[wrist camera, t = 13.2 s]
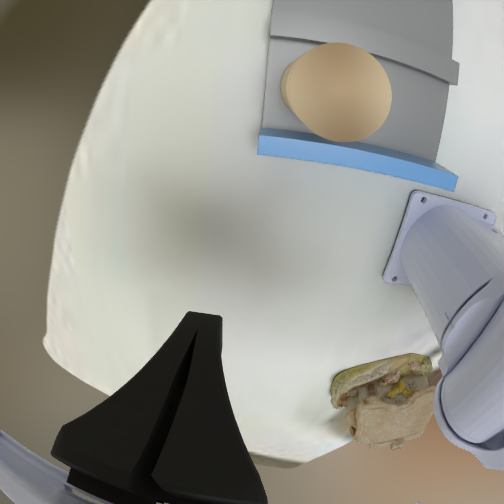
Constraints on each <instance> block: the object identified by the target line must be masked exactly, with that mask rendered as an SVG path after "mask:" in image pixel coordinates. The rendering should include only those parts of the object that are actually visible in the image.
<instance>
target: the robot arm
mask: <svg viewBox="0 0 504 504" xmlns="http://www.w3.org/2000/svg"><path fill="white" fill-rule="evenodd" d="M422 197H424V200H423V201H421V198H422ZM484 215H485V216H484ZM495 219H496V215H495V213H493V212H492V211H489V210H486V209H483V208H480V207H476V206H473V205H470V204H466V203H463V202H460V201H456V200H452V199H449V198H445V197H441V196H438V195H434V194H430V193H426V192H422V191H414V192H413V193H412V194H411V196H410V200H409V203H408V206H407V210H406V213H405V216H404V219H403V222H402V225H401V228H400V231H399V234H398V237H397V240H396V243H395V246H394V248H393V251H392V254H391V257H390V259H389V262H388V264H387V267H386V270H385V272H384V275H383V279H384V281H385V282H386V283H393V284H405V285H412V287H413V289H414V291H415V293H416V295H417V297H418V299H419V301H420V303H421V305H422V307H423V309H424V312H425V314H426V316H427V318H428V320H429V322H430V324H431V327H432V329H433V331H434V333H435V336H436V338H437V340H438V343H439V345H440V347H441V350H442V357H441V359H440V360H439V362H438V364H439V366H440V369H441V372H442V375H443V377H442V378H441V379H440V381H439V383H438V384H437V387H436V389H435V393H434V400H433V406H434V413H435V417H436V420H437V423H438V426H439V427H440V429H441V431H442V433H443V434H444V435H445V437H446V438H447V439H448V440H449V441H450V442H452V443H453V444H455V445H456V446H458V447H460V448H462V449H465V450H467V451H469V452H471V453H473V454H474V455H475V456H476V457H477V458H478V459H479V461H480V462H481V463H482V465H483V466H484V467H485V468H489V469H497V470H504V236H503V235H502V234H501V233H500V232H499V231H498V230H497V229H496V228H495V227H494V226H493V224H494V222H495ZM395 276H396V277H395ZM393 277H395V278H393ZM392 278H393V279H392ZM221 352H222V317H221V316H220V315H212V314H205V313H198V312H191V311H189V312H187V313H186V315H185V316H184V318H183V319H182V321H181V322H180V323H179V325H178V326H177V328H176V329H175V330H174V332H173V333H172V334H171V336H170V337H169V338H168V339H167V341H166V342H165V343H164V344H163V345H162V347H161V348H160V349H159V350H158V352H157V353H156V354H155V355H154V356H153V357H152V358H151V359H150V360H149V361H148V363H147V364H146V365H145V366H144V367H143V368H142V369H141V370H140V371H139V372H138V373H137V374H136V375H135V376H134V377H133V378H132V379H130V380H129V381H128V382H127V383H126V384H125V385H124V386H122V387H121V388H120V389H119V390H118V391H116V392H115V393H114V394H113V395H111V396H110V397H109V398H107V399H106V400H105V401H103V402H102V403H100V404H99V405H97V406H96V407H94V408H93V409H91V410H90V411H88V412H87V413H85V414H84V415H82V416H80V417H78V418H77V419H75V420H73V421H71V422H69V423H67V424H65V425H63V426H62V428H61V430H60V431H59V433H58V435H57V437H56V440H55V442H54V445H53V448H52V450H51V455H52V456H53V457H54V458H56V459H57V460H59V461H61V462H63V463H64V464H66V465H67V466H69V467H71V469H70V472H69V473H68V472H66V471H64V470H62V469H60V468H59V467H57V466H55V465H53V464H51V463H50V462H48V461H46V460H45V459H43V458H41V457H40V456H38V455H36V454H35V453H33V452H32V451H30V450H28V449H27V448H25V447H24V446H22V445H21V444H19V443H18V442H17V441H16V440H14V439H13V438H11V437H10V436H9V435H7V434H6V433H5V432H3V431H2V430H1V429H0V489H1V490H2V491H3V492H4V493H5V494H6V495H7V496H8V497H9V498H10V499H11V500H12V501H13V502H14V503H15V504H97V503H95V502H93V501H90V500H88V499H86V498H83V497H81V496H79V495H76V494H74V493H73V492H72V489H74V490H76V491H78V492H80V493H82V494H84V495H87V496H89V497H91V498H93V499H95V500H98V501H100V502H102V503H105V504H156V502H158V503H162V504H164V502H165V503H169V504H268V501H267V496H266V493H265V490H264V487H263V484H262V481H261V479H260V476H259V473H258V471H257V470H256V467H255V466H254V463H253V461H252V459H251V457H250V455H249V453H248V451H247V448H246V446H245V444H244V441H243V439H242V436H241V433H240V431H239V428H238V425H237V423H236V420H235V417H234V414H233V410H232V407H231V404H230V400H229V396H228V392H227V388H226V383H225V378H224V373H223V367H222V359H221ZM71 488H72V489H71ZM415 504H421V503H420V502H419V503H415Z"/></svg>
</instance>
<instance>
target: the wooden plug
mask: <svg viewBox="0 0 504 504" xmlns="http://www.w3.org/2000/svg"><path fill="white" fill-rule="evenodd" d="M280 91H281V95H282V98H283V100H284V102H285V104H286V105H287V107H288V108H289V109H290V110H291V111H292V112H293V113H294V114H295V115H296V116H297V117H298V118H299V119H300V120H301V121H302V122H303V123H304V124H305V125H306V126H307V127H308V128H309V129H310V130H311V131H312V132H314V133H315V134H317V135H319V136H321V137H323V138H325V139H328V140H331V141H336V142H353V141H358V140H361V139H364V138H366V137H368V136H370V135H371V134H373V133H374V132H376V131H377V130H378V129H379V128H380V127H381V126H382V124H383V123H384V121H385V120H386V118H387V116H388V114H389V111H390V107H391V102H392V92H391V85H390V82H389V79H388V76H387V74H386V72H385V70H384V69H383V67H382V66H381V64H380V63H379V62H378V61H377V60H376V59H375V58H374V57H373V56H372V55H371V54H369V53H368V52H367V51H365V50H363V49H361V48H359V47H357V46H354V45H351V44H347V43H340V42H333V43H326V44H322V45H319V46H317V47H314V48H313V49H311V50H309V51H308V52H306V53H305V54H303V55H302V56H300V57H299V58H298V59H296V60H295V61H293V62H292V63H291V64H290V65H288V67H287V68H286V69H285V71H284V72H283V75H282V77H281V81H280Z"/></svg>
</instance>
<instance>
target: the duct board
mask: <svg viewBox="0 0 504 504" xmlns="http://www.w3.org/2000/svg"><path fill="white" fill-rule="evenodd" d="M333 42H340V43H347V44H351V45H354V46H357V47H359V48H361V49H363V50H365V51H367V52H368V53H369V54H371V55H372V56H373V57H374V58H375V59H376V60H377V61H378V62H379V63H380V64H381V66H382V67H383V69H384V70H385V72H386V74H387V76H388V79H389V82H390V85H391V92H392V102H391V107H390V111H389V114H388V116H387V118H386V120H385V121H384V123H383V124H382V126H381V127H380V128H379V129H378V130H377V131H376V132H374V133H373V134H371V135H370V136H368V137H366V138H364V139H361V140H358V141H353V142H336V141H331V140H328V139H325V138H323V137H321V136H319V135H317V134H315V133H314V132H312V131H311V130H310V129H309V128H308V127H307V126H306V125H305V124H304V123H303V122H302V121H301V120H300V119H299V118H298V117H297V116H296V115H295V114H294V113H293V112H292V111H291V110H290V109H289V108H288V107H287V105H286V104H285V102H284V100H283V98H282V95H281V91H280V81H281V77H282V75H283V72H284V71H285V69H286V68H287V67H288V65H290V64H291V63H292V62H293V61H295V60H296V59H298V58H299V57H300V56H302V55H303V54H305V53H306V52H308V51H309V50H311V49H313V48H314V47H317V46H319V45H322V44H326V43H333ZM452 44H453V4H452V0H274V1H273V10H272V15H271V26H270V44H269V55H268V66H267V77H266V88H265V99H264V110H263V121H262V129H261V131H260V134H259V140H258V151H257V155H265V156H274V157H283V158H291V159H299V160H306V161H313V162H320V163H326V164H333V165H339V166H344V167H350V168H355V169H361V170H366V171H371V172H376V173H381V174H385V175H390V176H394V177H399V178H403V179H407V180H411V181H415V182H419V183H423V184H427V185H431V186H434V187H438V188H442V189H445V190H449V191H452V192H454V189H455V186H456V182H457V179H458V176H457V175H455V174H454V173H452V172H451V171H449V170H447V169H446V168H444V167H443V166H441V165H440V164H438V163H436V162H435V160H436V156H437V152H438V147H439V143H440V138H441V133H442V128H443V123H444V117H445V111H446V105H447V98H448V91H449V85H457V84H458V75H459V63H458V62H456V61H454V60H452Z"/></svg>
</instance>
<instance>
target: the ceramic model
mask: <svg viewBox="0 0 504 504" xmlns="http://www.w3.org/2000/svg"><path fill="white" fill-rule="evenodd" d="M432 369H433V368H432V363H431V360H430V359H428V358H427V357H426V356H424V355H420V354H414V353H411V354H405V355H401V356H397V357H392V358H388V359H383V360H379V361H375V362H371V363H367V364H364V365H360V366H356V367H353V368H350V369H348V370H345V371H343V372H341V373H340V374H338V375H337V376H336V377H335V379H334V381H333V384H332V387H331V397H332V399H331V403H332V405H333V408H336V409H338V408H339V409H340V408H342V407H343V406H344V407H347V409H348V413H347V414H346V416H345V418H346V420H347V421H348V422H349V424H350V425H352V426H351V428H350V433H351V435H352V437H353V438H354V439H355V440H356V442H360V443H363V444H365V445H366V446H369V448H378V447H384V446H387V445H391V450H395V449H397V448H400V449H401V448H402V447H403V441H408V440H412V439H415V438H418V437H419V436H421V434H422V433H423V432H424V429H425V427H426V425H427V423H428V421H429V420H430V418H431V416H432V415H433V414H434V406H433V400H434V393H435V389H436V387H435V386H430V387H429V384H428V379H427V374H430V373H431V371H432Z"/></svg>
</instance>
